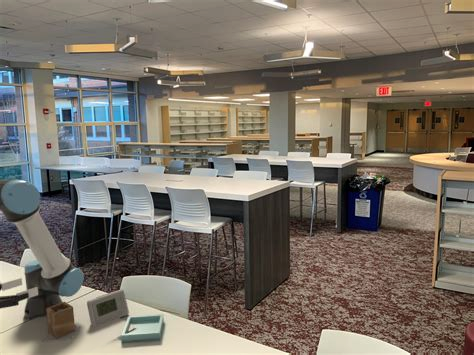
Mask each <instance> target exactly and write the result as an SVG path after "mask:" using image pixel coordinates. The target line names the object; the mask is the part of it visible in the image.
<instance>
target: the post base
mask: <svg viewBox="0 0 474 355" xmlns="http://www.w3.org/2000/svg"><path fill="white" fill-rule="evenodd" d="M60 310H63V309H58V310H57V312H58V311H60ZM81 324H82V323H75V331H74V332H72V333H70V334H68V335H66V336H63V337H61V338H59V339H56V338H55V337H53V336H52V335H51V334H49V331H47V333H46V334H45V335H44V336H43V338H42V339H41V342H51V341H64V340H65V341H67V340H73V338H74V337H75V335H76V333H77V331H78V330H79V328H80V327H81Z"/></svg>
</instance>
